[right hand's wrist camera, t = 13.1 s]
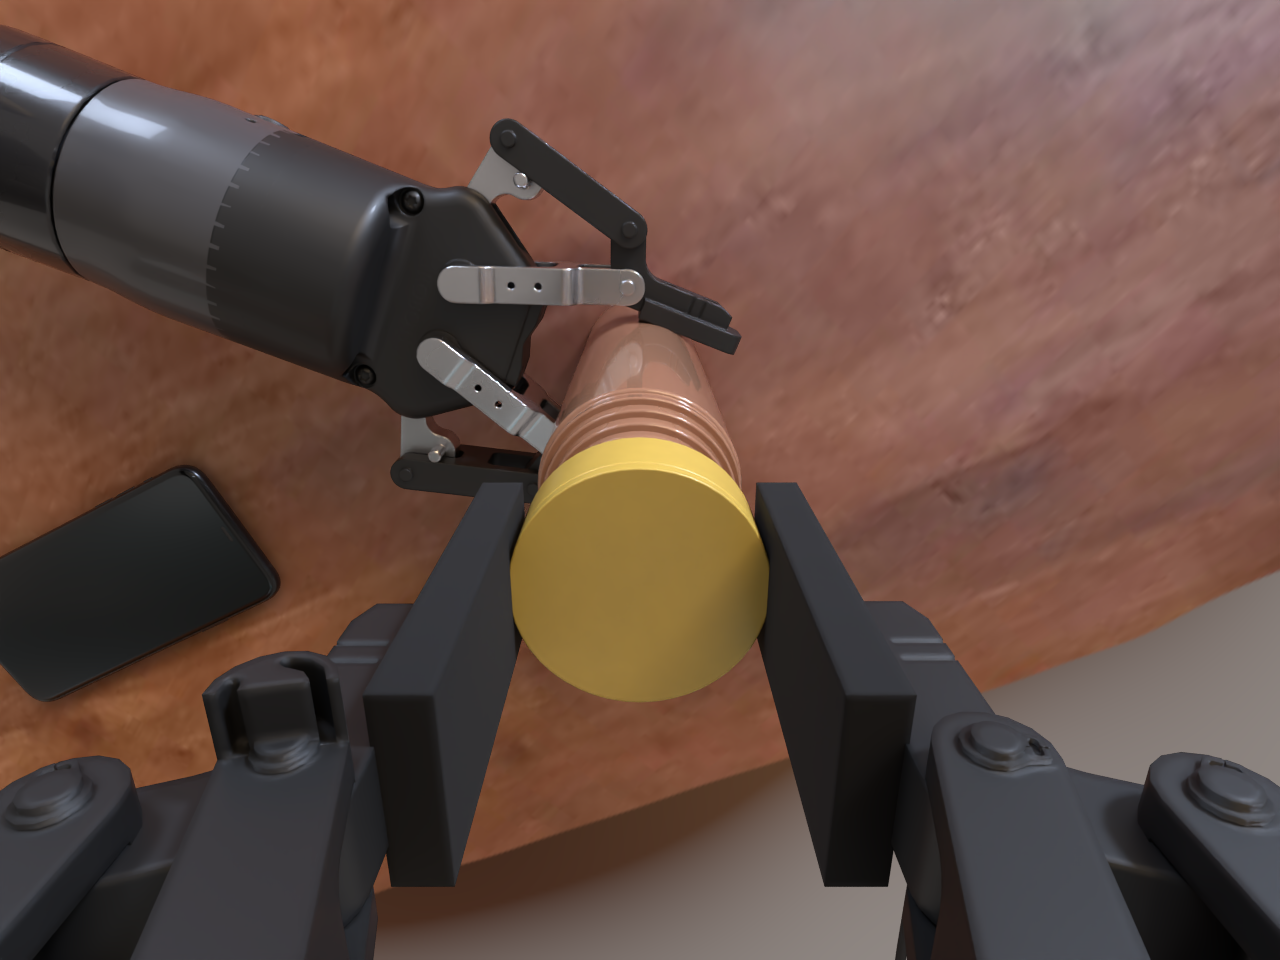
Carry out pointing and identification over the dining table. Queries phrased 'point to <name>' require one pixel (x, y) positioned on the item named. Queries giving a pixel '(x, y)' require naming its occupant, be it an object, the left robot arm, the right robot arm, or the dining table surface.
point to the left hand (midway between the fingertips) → (704, 408)
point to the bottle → (638, 395)
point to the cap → (639, 571)
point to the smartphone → (126, 583)
